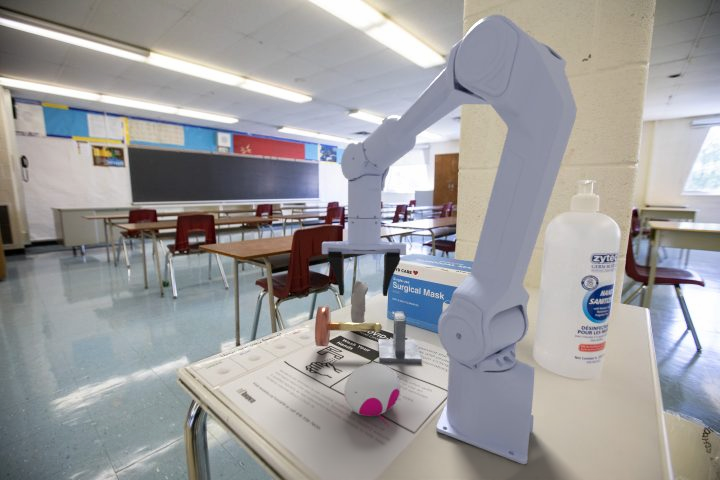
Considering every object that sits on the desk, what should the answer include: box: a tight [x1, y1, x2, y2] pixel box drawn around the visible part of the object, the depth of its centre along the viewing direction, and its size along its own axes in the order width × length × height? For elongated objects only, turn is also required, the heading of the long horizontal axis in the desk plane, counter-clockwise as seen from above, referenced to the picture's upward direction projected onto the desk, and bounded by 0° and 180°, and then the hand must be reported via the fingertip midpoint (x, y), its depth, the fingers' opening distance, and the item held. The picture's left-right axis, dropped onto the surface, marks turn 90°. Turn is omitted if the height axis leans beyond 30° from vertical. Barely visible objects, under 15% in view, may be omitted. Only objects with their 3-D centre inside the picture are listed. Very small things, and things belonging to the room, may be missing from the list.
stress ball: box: [343, 362, 401, 426], centre depth 39 cm, size 8×8×7 cm
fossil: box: [350, 280, 369, 323], centre depth 66 cm, size 6×4×10 cm, turn 168°
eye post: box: [377, 310, 423, 364], centre depth 54 cm, size 7×7×7 cm
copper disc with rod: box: [314, 306, 383, 347], centre depth 54 cm, size 11×7×7 cm, turn 88°
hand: (363, 294), depth 55 cm, fingers open, 7 cm apart
